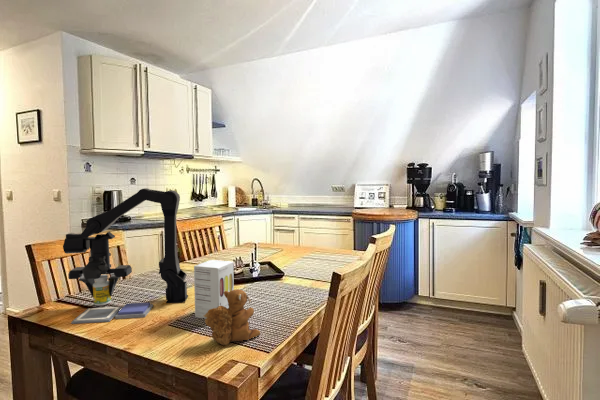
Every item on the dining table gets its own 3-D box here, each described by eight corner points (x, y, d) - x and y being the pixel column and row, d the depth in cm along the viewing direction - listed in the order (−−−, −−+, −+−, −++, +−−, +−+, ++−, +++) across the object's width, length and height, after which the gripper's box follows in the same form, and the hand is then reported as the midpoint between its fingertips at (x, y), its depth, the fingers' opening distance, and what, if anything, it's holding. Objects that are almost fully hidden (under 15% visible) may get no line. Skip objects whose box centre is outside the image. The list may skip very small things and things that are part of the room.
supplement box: (219, 321, 109) (217, 268, 108) (194, 317, 112) (192, 265, 111) (235, 310, 118) (234, 261, 117) (211, 307, 121) (210, 258, 120)
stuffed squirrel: (262, 335, 100) (262, 289, 99) (221, 354, 90) (220, 303, 89) (240, 325, 107) (240, 282, 106) (199, 341, 97) (198, 294, 96)
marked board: (122, 308, 121) (122, 306, 121) (109, 321, 110) (109, 319, 110) (88, 310, 119) (88, 307, 119) (71, 323, 108) (71, 321, 108)
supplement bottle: (110, 299, 127) (109, 273, 127) (112, 303, 123) (110, 276, 122) (93, 302, 124) (91, 275, 124) (94, 307, 120) (92, 279, 119)
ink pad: (153, 306, 122) (152, 301, 122) (145, 317, 113) (144, 311, 113) (125, 308, 121) (125, 303, 121) (115, 318, 112) (115, 313, 112)
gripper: (57, 258, 113) (61, 306, 114) (119, 256, 115) (121, 302, 117) (75, 251, 124) (78, 294, 125) (131, 249, 126) (133, 291, 128)
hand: (102, 296), depth 123 cm, fingers closed on supplement bottle, 5 cm apart
